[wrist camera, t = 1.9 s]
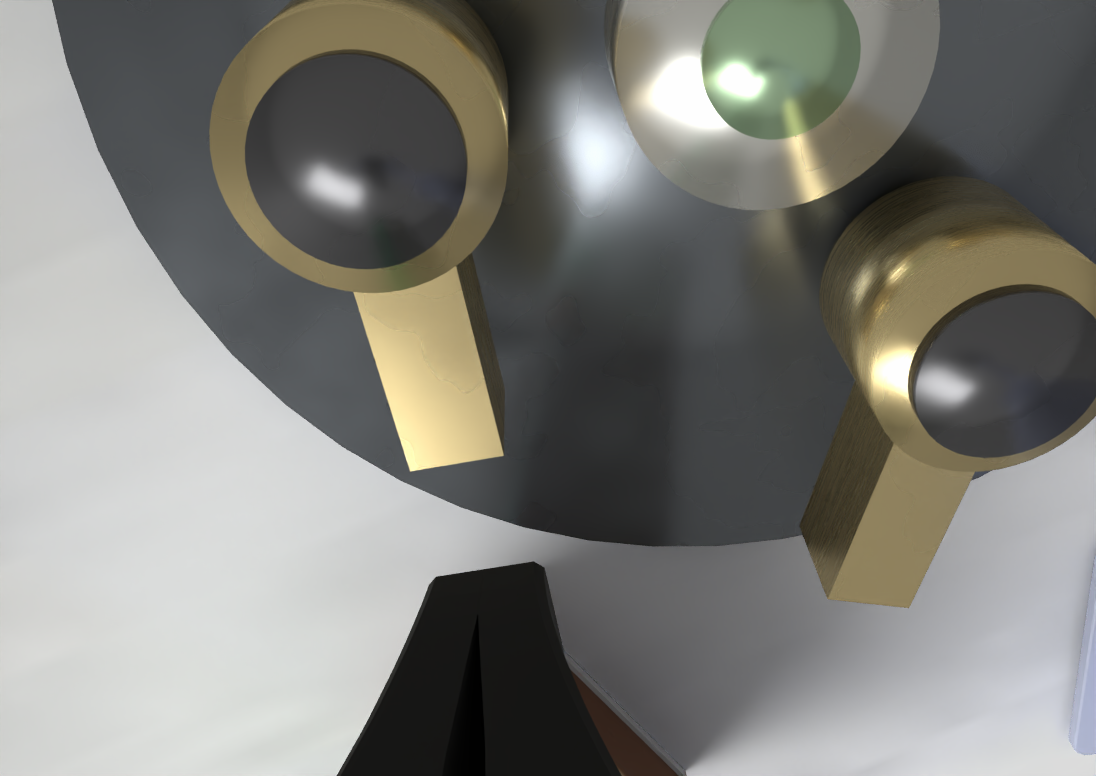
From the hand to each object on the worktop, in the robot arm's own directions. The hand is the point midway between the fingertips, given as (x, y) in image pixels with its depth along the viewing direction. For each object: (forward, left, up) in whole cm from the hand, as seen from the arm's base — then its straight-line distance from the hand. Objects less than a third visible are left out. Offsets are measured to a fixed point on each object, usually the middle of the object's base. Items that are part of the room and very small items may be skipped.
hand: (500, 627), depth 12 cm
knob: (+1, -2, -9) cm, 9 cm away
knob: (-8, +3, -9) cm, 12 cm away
